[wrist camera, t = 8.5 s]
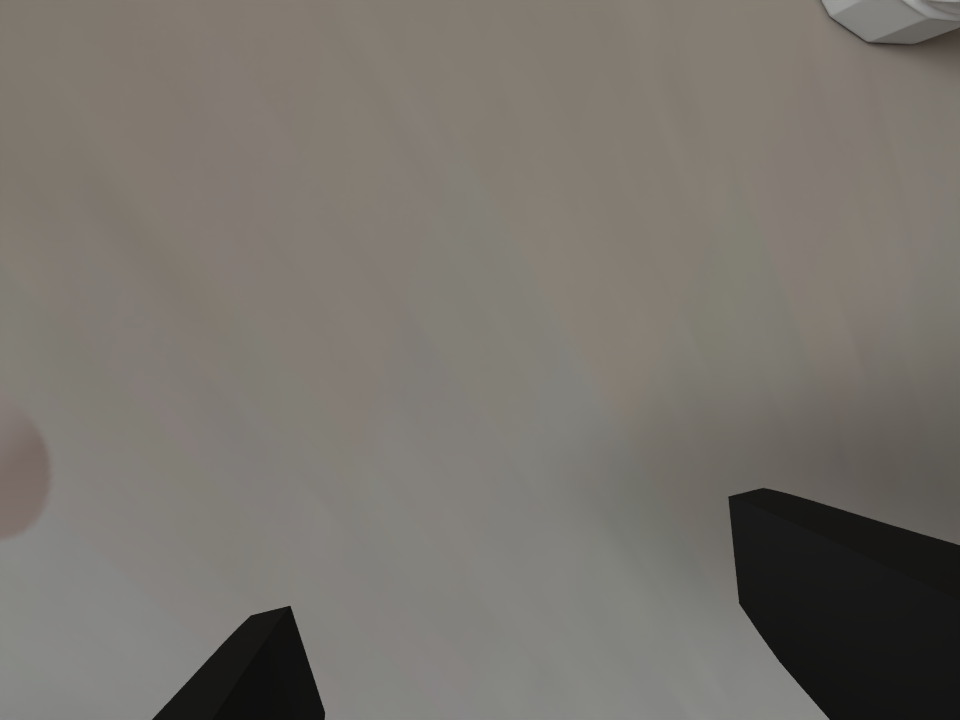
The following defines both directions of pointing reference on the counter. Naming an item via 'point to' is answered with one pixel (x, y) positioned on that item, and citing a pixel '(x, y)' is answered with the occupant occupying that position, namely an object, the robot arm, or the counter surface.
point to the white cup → (895, 18)
